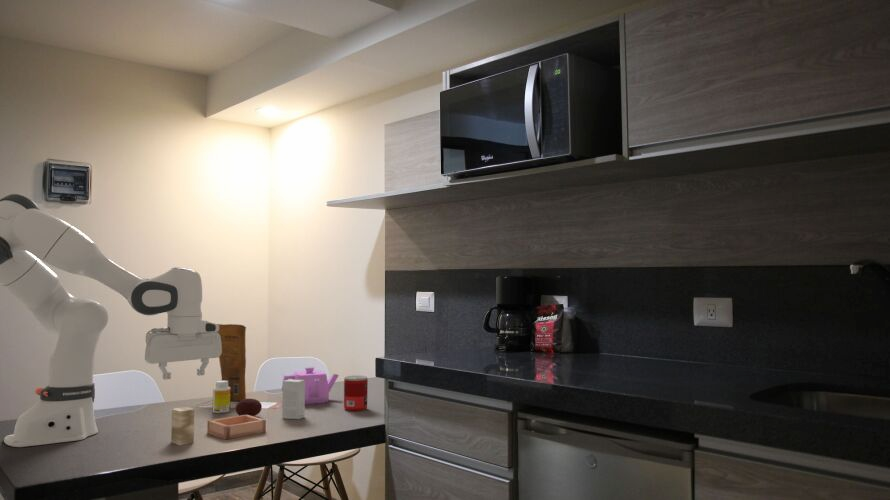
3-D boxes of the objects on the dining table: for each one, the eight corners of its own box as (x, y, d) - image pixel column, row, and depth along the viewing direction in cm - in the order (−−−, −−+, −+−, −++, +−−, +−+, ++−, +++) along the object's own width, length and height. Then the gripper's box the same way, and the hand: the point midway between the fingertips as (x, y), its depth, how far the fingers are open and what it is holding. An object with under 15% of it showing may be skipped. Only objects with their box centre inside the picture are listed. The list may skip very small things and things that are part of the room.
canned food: (369, 410, 221) (370, 378, 222) (346, 412, 218) (347, 379, 219) (364, 406, 228) (364, 375, 229) (341, 407, 225) (342, 376, 226)
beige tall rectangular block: (179, 445, 173) (180, 411, 174) (171, 442, 177) (172, 408, 177) (193, 442, 176) (194, 409, 177) (185, 439, 180) (186, 406, 180)
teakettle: (301, 395, 249) (302, 363, 250) (340, 398, 244) (341, 365, 244) (276, 403, 233) (276, 369, 234) (317, 406, 228) (318, 371, 228)
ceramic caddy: (225, 439, 180) (226, 426, 180) (207, 432, 187) (207, 420, 188) (265, 432, 189) (265, 420, 189) (246, 426, 196) (246, 414, 197)
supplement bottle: (232, 412, 217) (233, 381, 218) (216, 414, 214) (216, 383, 214) (226, 409, 221) (227, 379, 222) (210, 411, 218) (210, 381, 218)
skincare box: (305, 417, 210) (305, 379, 211) (298, 419, 206) (299, 381, 206) (288, 415, 212) (288, 379, 212) (281, 418, 207) (282, 380, 208)
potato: (251, 420, 204) (252, 401, 205) (229, 418, 207) (230, 399, 207) (265, 416, 211) (265, 397, 212) (244, 414, 214) (244, 396, 214)
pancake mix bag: (236, 403, 233) (237, 325, 234) (210, 396, 245) (211, 323, 247) (253, 400, 238) (254, 324, 239) (226, 394, 250) (227, 322, 252)
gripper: (150, 329, 168) (149, 382, 168) (224, 325, 183) (224, 374, 182) (141, 328, 173) (140, 380, 172) (214, 324, 187) (213, 372, 187)
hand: (184, 377), depth 177 cm, fingers open, 8 cm apart
